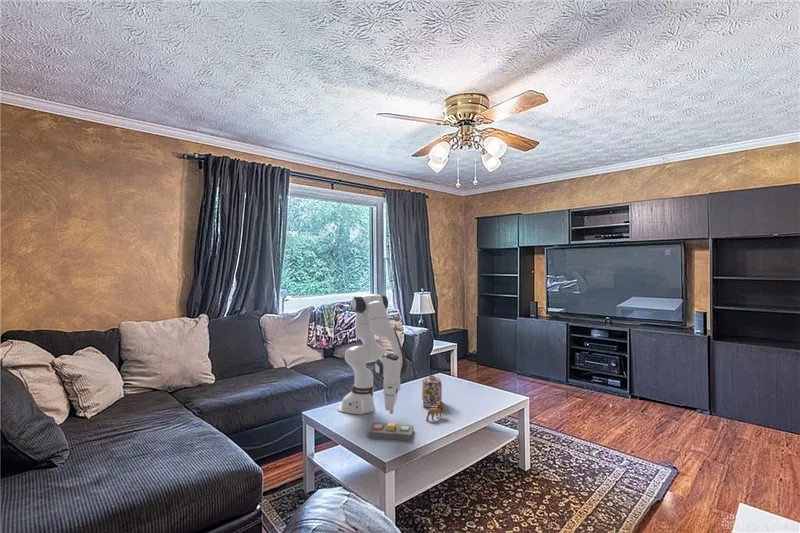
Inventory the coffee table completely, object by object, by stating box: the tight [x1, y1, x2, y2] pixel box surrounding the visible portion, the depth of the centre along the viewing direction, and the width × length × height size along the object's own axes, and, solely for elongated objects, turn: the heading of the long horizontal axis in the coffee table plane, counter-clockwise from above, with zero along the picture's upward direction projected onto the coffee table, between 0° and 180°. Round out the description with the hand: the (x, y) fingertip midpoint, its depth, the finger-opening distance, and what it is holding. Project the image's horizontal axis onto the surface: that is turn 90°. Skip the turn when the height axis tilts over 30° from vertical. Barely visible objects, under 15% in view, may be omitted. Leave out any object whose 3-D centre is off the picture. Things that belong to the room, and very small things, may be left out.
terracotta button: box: [374, 424, 383, 430], centre depth 205 cm, size 4×4×4 cm
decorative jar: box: [421, 375, 443, 407], centre depth 249 cm, size 12×12×18 cm
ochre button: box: [387, 422, 397, 431], centre depth 204 cm, size 4×4×4 cm
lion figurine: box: [425, 401, 444, 423], centre depth 225 cm, size 15×5×9 cm, turn 141°
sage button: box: [401, 426, 409, 432], centre depth 203 cm, size 4×4×4 cm
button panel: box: [367, 422, 414, 441], centre depth 204 cm, size 22×12×3 cm, turn 83°
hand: (391, 412), depth 204 cm, fingers closed
